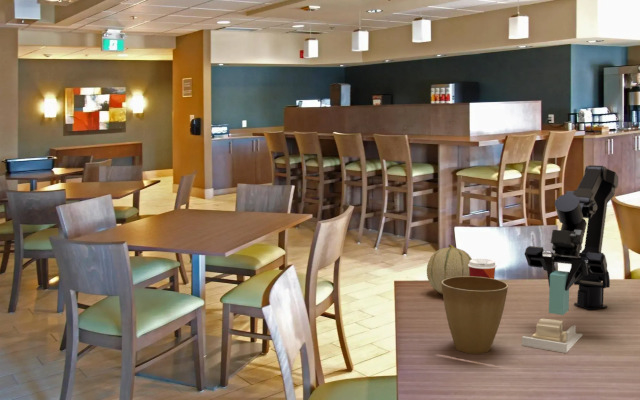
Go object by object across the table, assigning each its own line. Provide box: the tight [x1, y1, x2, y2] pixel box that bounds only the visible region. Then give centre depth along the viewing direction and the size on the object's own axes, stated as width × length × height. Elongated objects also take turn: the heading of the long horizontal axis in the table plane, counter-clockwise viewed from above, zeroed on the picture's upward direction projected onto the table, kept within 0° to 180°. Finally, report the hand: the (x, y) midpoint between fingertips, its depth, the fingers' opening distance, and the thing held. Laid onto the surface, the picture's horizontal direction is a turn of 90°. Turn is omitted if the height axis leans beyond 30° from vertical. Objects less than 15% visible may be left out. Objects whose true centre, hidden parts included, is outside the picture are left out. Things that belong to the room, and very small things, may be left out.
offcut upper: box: [535, 318, 564, 338], centre depth 164 cm, size 6×5×2 cm
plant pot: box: [442, 276, 509, 355], centre depth 161 cm, size 15×15×16 cm
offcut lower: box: [531, 330, 567, 343], centre depth 164 cm, size 7×6×2 cm
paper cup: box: [468, 258, 497, 279], centre depth 194 cm, size 8×8×14 cm
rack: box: [521, 325, 584, 354], centre depth 167 cm, size 16×10×3 cm, turn 146°
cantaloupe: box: [426, 244, 473, 295], centre depth 211 cm, size 15×15×15 cm
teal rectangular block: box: [548, 270, 570, 316], centre depth 169 cm, size 5×3×10 cm
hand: (557, 288), depth 168 cm, fingers closed on teal rectangular block, 3 cm apart
